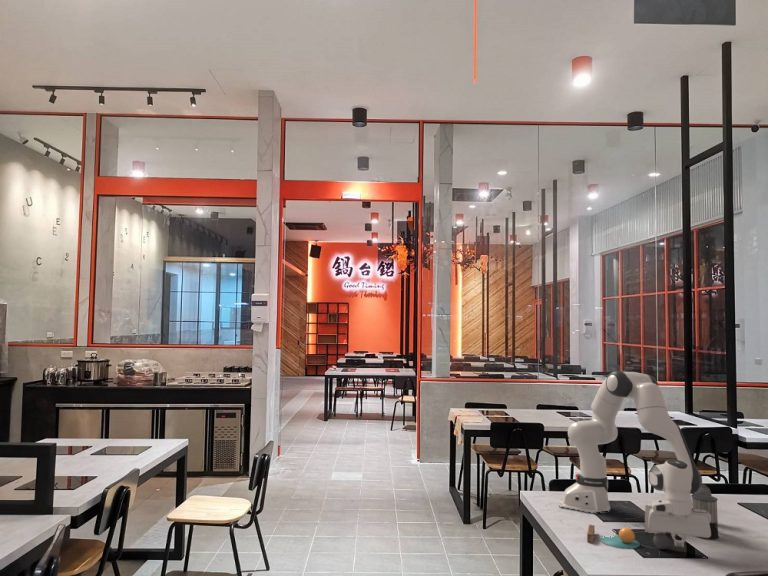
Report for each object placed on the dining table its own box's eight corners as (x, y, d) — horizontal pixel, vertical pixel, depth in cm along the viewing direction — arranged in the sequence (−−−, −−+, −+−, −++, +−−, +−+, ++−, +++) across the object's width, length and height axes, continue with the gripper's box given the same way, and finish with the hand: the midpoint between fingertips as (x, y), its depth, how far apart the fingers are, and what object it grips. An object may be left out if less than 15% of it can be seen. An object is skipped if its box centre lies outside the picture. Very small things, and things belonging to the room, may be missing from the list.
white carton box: (663, 535, 220) (663, 509, 220) (645, 532, 224) (644, 506, 224) (665, 533, 222) (665, 507, 223) (647, 529, 227) (646, 504, 227)
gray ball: (674, 544, 202) (664, 555, 203) (672, 536, 207) (662, 547, 208) (660, 534, 203) (651, 545, 204) (658, 527, 208) (649, 537, 209)
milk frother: (721, 541, 214) (720, 501, 216) (675, 535, 220) (674, 496, 221) (714, 530, 228) (713, 492, 229) (670, 524, 233) (669, 488, 235)
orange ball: (638, 539, 207) (626, 548, 208) (638, 535, 212) (626, 543, 213) (626, 526, 209) (615, 535, 210) (626, 522, 214) (615, 531, 215)
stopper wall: (587, 542, 210) (587, 534, 211) (589, 532, 221) (589, 524, 222) (593, 543, 210) (592, 534, 210) (594, 533, 221) (594, 525, 221)
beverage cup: (715, 525, 233) (713, 476, 235) (695, 524, 235) (694, 474, 237) (708, 520, 240) (707, 472, 242) (690, 518, 242) (688, 470, 244)
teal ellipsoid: (598, 544, 208) (598, 544, 208) (600, 533, 221) (600, 532, 221) (640, 551, 202) (640, 550, 202) (639, 538, 215) (639, 538, 215)
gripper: (709, 508, 204) (710, 548, 203) (647, 500, 212) (648, 539, 211) (712, 513, 198) (713, 553, 197) (648, 505, 206) (648, 544, 205)
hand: (679, 546), depth 204 cm, fingers closed
